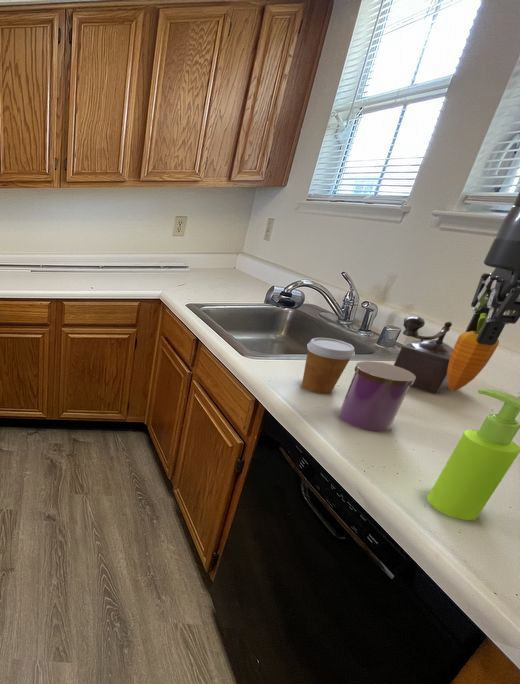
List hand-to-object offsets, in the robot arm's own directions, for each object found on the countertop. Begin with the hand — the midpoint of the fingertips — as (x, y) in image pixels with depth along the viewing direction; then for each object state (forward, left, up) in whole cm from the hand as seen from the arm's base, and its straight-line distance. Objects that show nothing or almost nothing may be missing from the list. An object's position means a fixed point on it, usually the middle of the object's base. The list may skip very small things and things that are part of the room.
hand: (479, 338), depth 73 cm
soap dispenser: (+1, +20, -23) cm, 30 cm away
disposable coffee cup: (+17, -18, -23) cm, 34 cm away
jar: (+9, -5, -23) cm, 25 cm away
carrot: (0, 0, -11) cm, 11 cm away
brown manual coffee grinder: (-5, -34, -23) cm, 41 cm away
